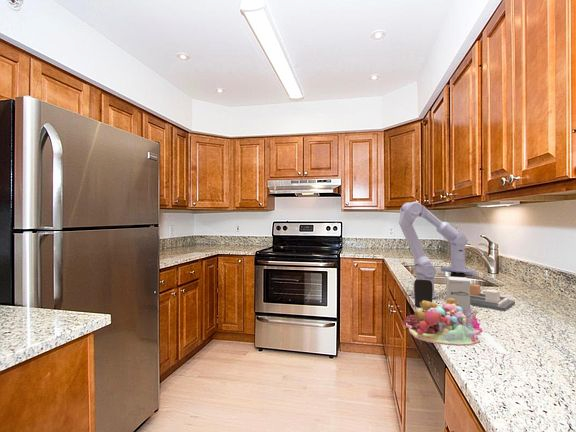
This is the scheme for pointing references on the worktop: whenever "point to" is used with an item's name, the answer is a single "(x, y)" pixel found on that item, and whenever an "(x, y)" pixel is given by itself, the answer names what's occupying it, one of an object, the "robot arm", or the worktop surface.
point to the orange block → (475, 290)
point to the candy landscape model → (444, 324)
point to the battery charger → (423, 290)
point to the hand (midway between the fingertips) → (458, 288)
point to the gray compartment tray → (481, 302)
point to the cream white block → (492, 296)
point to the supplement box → (459, 291)
